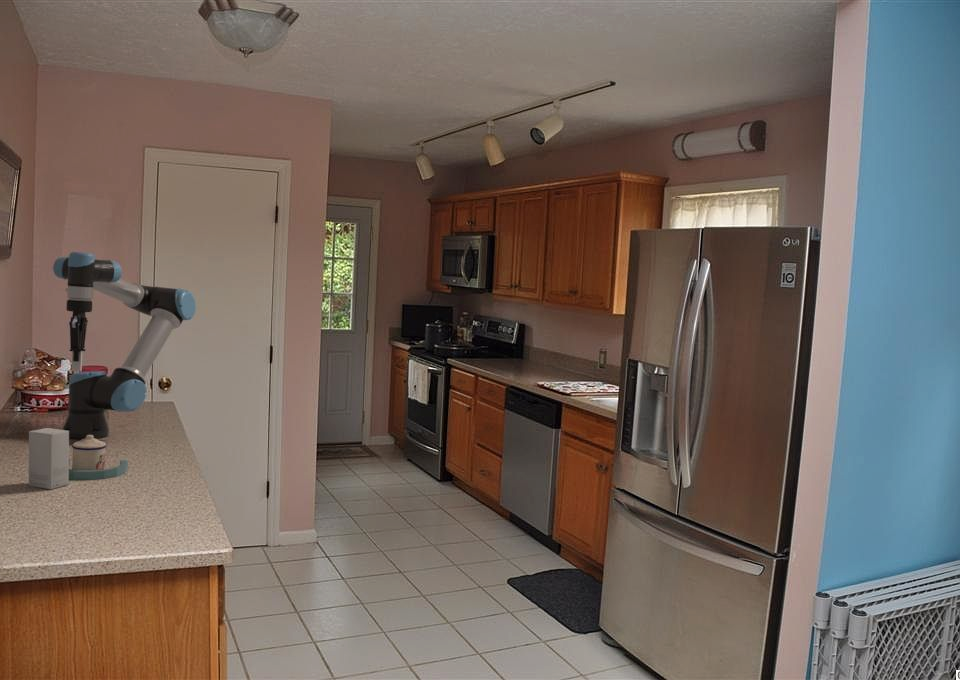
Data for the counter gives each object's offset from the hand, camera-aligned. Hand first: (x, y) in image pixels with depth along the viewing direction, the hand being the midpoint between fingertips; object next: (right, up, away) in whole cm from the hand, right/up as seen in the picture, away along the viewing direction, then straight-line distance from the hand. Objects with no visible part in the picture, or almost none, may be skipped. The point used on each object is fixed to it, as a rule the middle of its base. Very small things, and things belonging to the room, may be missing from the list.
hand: (76, 370), depth 261 cm
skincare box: (+13, -31, -41) cm, 53 cm away
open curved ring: (+16, -30, -25) cm, 42 cm away
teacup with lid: (+16, -30, -24) cm, 42 cm away
